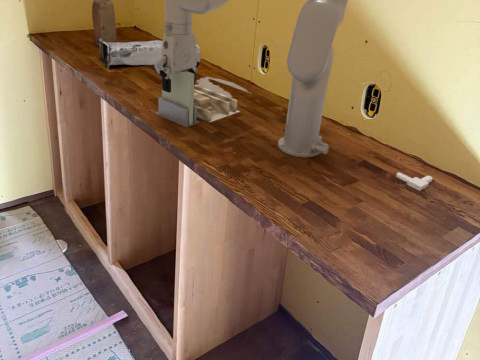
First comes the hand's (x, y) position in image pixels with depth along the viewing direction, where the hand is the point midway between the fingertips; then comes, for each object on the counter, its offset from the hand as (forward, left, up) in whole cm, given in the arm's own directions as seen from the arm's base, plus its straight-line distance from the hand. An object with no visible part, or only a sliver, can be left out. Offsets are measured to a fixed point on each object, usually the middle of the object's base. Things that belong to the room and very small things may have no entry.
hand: (179, 87), depth 141 cm
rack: (+1, -12, -11) cm, 16 cm away
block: (+84, -34, -11) cm, 92 cm away
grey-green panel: (0, 0, -10) cm, 10 cm away
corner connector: (-67, -21, -12) cm, 71 cm away
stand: (0, 0, -11) cm, 11 cm away
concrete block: (+55, -35, -12) cm, 66 cm away
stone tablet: (+9, -31, -12) cm, 34 cm away
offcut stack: (+1, -9, -10) cm, 13 cm away
